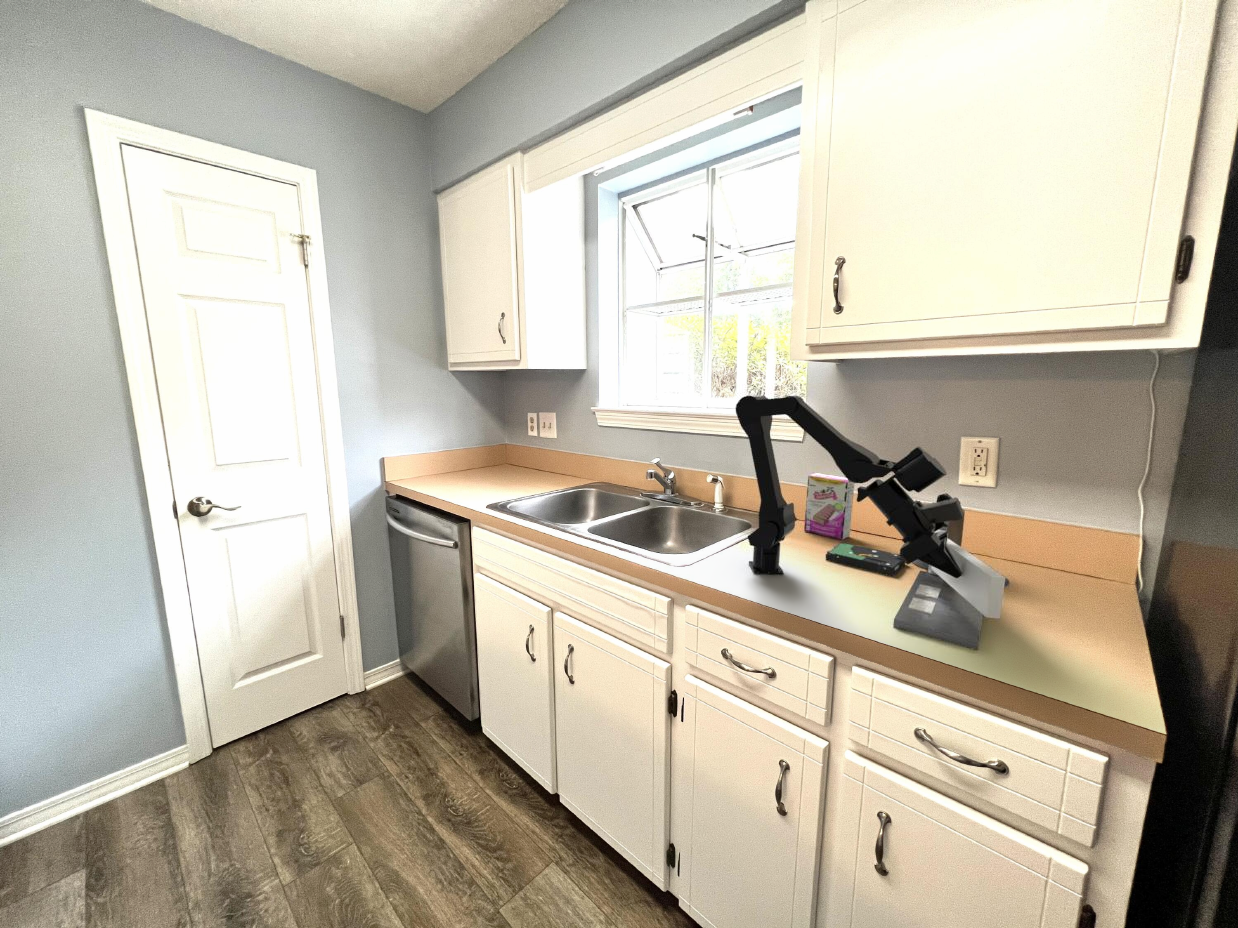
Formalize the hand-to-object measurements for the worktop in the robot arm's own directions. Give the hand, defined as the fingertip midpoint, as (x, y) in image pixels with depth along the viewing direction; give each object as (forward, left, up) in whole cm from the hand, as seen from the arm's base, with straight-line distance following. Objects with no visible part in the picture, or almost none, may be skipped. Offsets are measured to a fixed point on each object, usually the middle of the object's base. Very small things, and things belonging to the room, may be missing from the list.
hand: (959, 576), depth 91 cm
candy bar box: (-48, -7, -8) cm, 49 cm away
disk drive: (-27, -5, -8) cm, 28 cm away
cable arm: (-3, +3, -4) cm, 6 cm away
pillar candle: (-26, +10, -8) cm, 29 cm away
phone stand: (-3, 0, -7) cm, 8 cm away
